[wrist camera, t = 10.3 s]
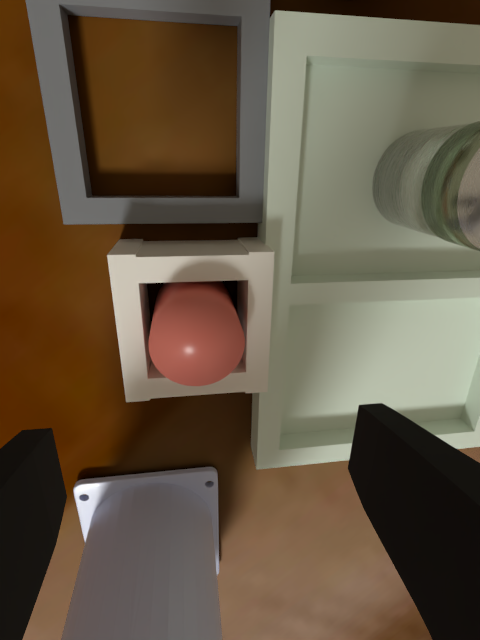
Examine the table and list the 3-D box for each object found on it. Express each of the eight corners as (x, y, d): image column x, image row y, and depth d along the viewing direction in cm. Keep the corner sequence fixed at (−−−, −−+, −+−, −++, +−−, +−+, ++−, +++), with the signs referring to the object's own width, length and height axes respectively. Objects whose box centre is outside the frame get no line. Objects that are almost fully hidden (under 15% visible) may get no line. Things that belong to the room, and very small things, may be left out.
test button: (231, 339, 19) (244, 382, 15) (158, 343, 18) (152, 389, 14) (231, 269, 17) (245, 298, 13) (152, 271, 17) (144, 302, 13)
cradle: (257, 219, 17) (262, 222, 16) (70, 220, 16) (63, 224, 15) (264, -6, 14) (271, -18, 13) (30, -25, 12) (19, -39, 12)
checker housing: (255, 359, 20) (267, 392, 17) (134, 367, 19) (126, 402, 16) (259, 237, 17) (274, 251, 14) (119, 239, 16) (107, 255, 13)
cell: (448, 225, 17) (582, 257, 12) (366, 229, 17) (463, 265, 11) (467, 127, 16) (634, 108, 10) (377, 129, 15) (497, 110, 10)
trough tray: (466, 426, 24) (487, 445, 22) (250, 446, 22) (256, 469, 20) (584, 49, 16) (631, 36, 14) (263, 28, 14) (275, 10, 12)
